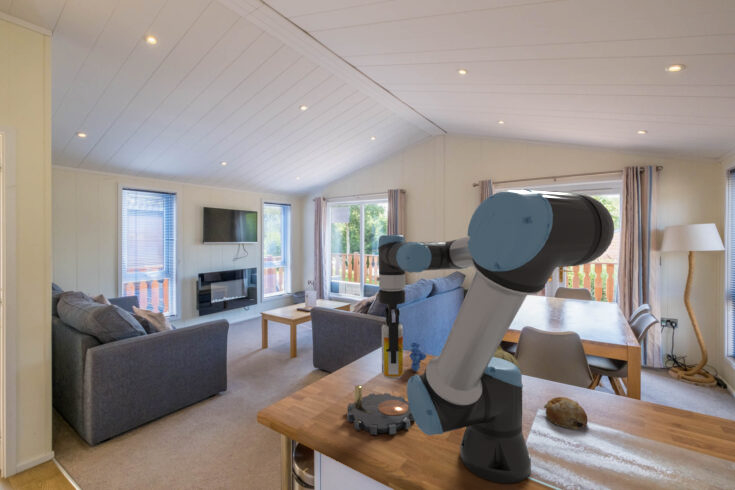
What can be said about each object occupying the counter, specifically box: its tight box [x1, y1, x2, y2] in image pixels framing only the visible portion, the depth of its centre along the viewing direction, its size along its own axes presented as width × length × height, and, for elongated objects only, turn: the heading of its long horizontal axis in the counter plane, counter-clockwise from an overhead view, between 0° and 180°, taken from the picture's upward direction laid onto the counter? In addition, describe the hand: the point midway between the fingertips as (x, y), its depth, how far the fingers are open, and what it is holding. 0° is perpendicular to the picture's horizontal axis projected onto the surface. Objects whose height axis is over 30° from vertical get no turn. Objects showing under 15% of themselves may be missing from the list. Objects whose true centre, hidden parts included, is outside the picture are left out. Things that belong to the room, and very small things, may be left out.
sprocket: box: [346, 384, 415, 436], centre depth 97 cm, size 20×20×8 cm
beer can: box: [381, 321, 404, 380], centre depth 97 cm, size 6×6×15 cm
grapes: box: [408, 340, 427, 372], centre depth 131 cm, size 12×7×12 cm, turn 171°
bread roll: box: [543, 396, 589, 431], centre depth 95 cm, size 10×10×8 cm
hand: (392, 369), depth 97 cm, fingers closed on beer can, 6 cm apart
